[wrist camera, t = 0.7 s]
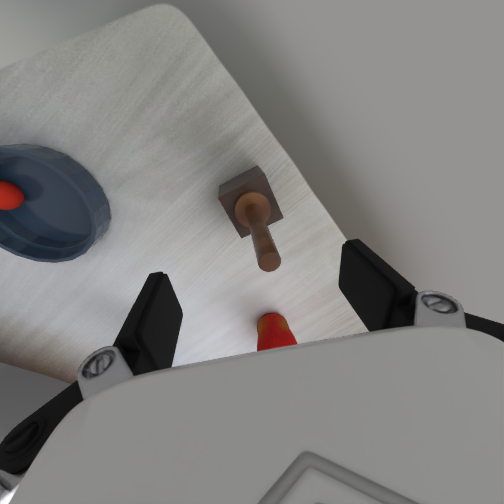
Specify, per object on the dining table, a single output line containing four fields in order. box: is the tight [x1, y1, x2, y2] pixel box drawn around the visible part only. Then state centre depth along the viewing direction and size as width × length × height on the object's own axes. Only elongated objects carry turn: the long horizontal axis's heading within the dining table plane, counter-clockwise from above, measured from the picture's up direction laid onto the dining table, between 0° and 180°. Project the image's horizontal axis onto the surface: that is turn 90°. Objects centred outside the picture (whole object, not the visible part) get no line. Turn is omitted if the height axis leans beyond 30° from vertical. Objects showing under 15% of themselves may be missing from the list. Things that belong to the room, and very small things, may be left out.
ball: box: [0, 180, 24, 210], centre depth 30 cm, size 4×4×4 cm
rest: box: [218, 166, 283, 238], centre depth 34 cm, size 7×7×7 cm
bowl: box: [0, 144, 110, 263], centre depth 32 cm, size 16×16×5 cm
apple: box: [257, 313, 297, 351], centre depth 48 cm, size 9×8×12 cm
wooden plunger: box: [235, 191, 281, 272], centre depth 25 cm, size 5×5×14 cm
